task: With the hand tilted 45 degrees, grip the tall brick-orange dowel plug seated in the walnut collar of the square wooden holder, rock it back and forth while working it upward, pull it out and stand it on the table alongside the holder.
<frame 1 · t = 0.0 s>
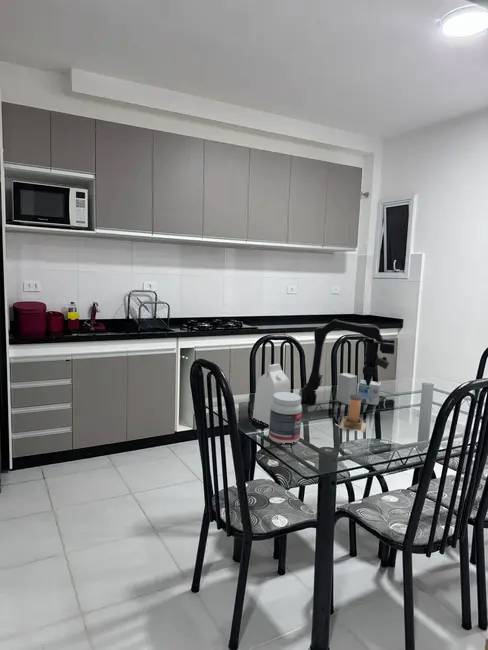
hand: (368, 382, 224), 15 cm above the table, tool pointing down, fingers open, 9 cm apart
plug: (352, 425, 203), point 1 cm above the table, touching square wooden holder
milk: (270, 420, 208), on the table
skincare box: (345, 402, 239), on the table
supplement tub: (283, 439, 188), on the table
square wooden holder: (352, 428, 203), on the table
light bulb box: (367, 402, 242), on the table
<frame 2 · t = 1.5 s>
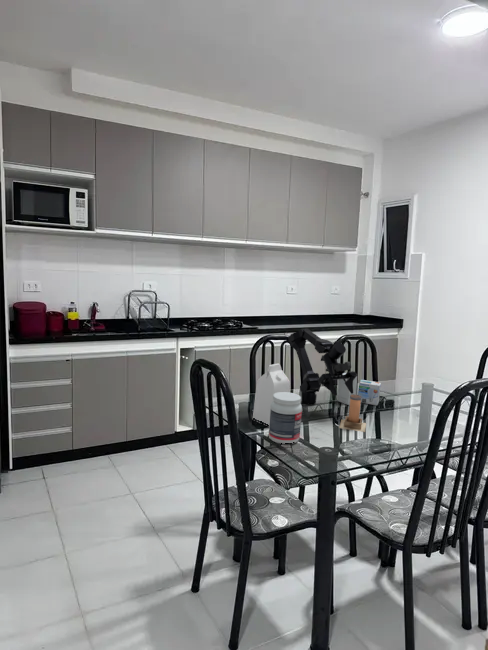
hand: (344, 394, 208), 13 cm above the table, tool tilted 45°, fingers open, 9 cm apart
nothing on the table moved.
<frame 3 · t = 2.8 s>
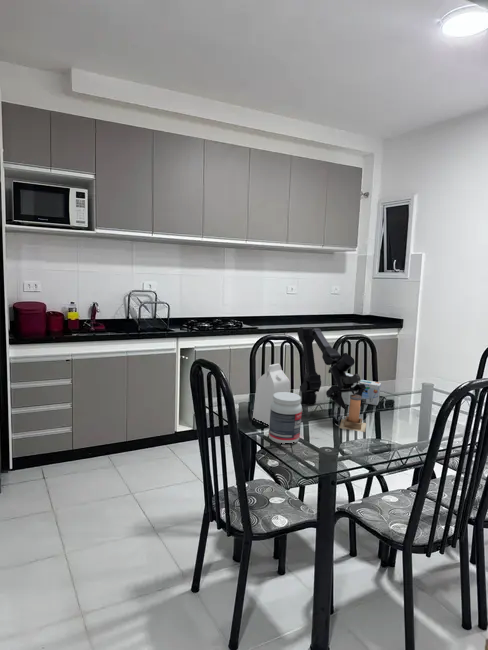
hand: (353, 407, 202), 10 cm above the table, tool tilted 45°, fingers open, 9 cm apart
nothing on the table moved.
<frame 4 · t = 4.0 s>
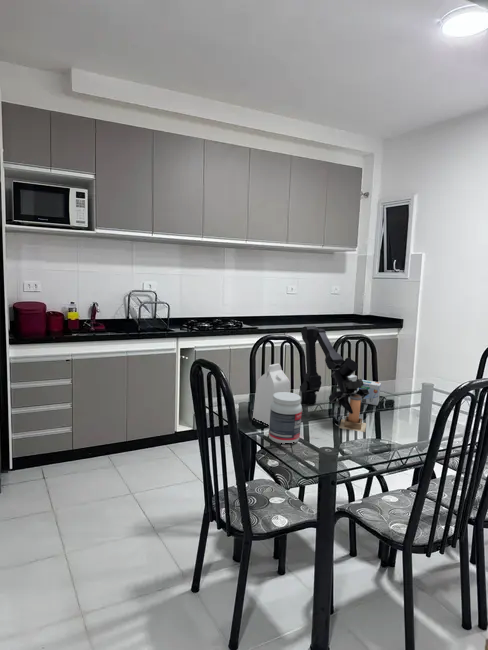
hand: (356, 412, 201), 8 cm above the table, tool tilted 45°, fingers closed on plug, 4 cm apart
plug: (352, 425, 203), point 1 cm above the table, touching gripper, square wooden holder
everything else where it was.
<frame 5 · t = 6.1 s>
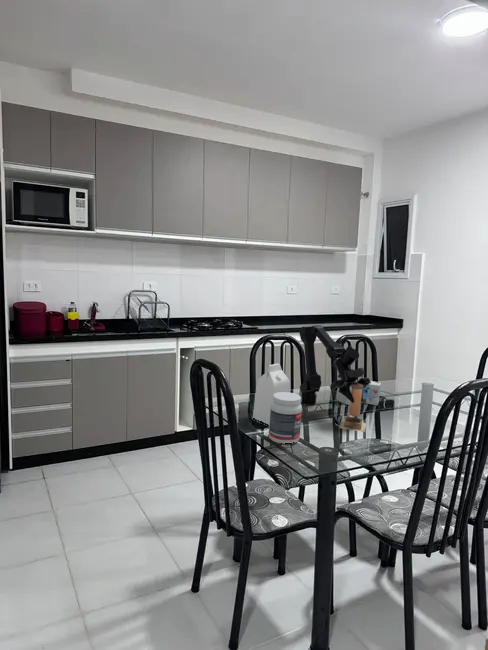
hand: (357, 401, 200), 13 cm above the table, tool tilted 45°, fingers closed on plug, 4 cm apart
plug: (354, 414, 202), point 7 cm above the table, touching gripper
everything else where it was.
when the fingers open (7 cm above the table, at t = 8.4 s): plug stays where it is, on the table.
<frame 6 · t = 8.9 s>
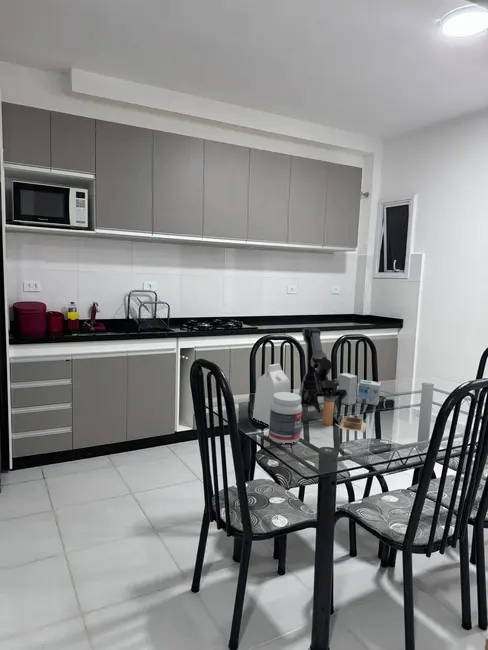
hand: (329, 412, 201), 7 cm above the table, tool tilted 45°, fingers open, 9 cm apart
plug: (326, 426, 204), on the table
everything else where it was.
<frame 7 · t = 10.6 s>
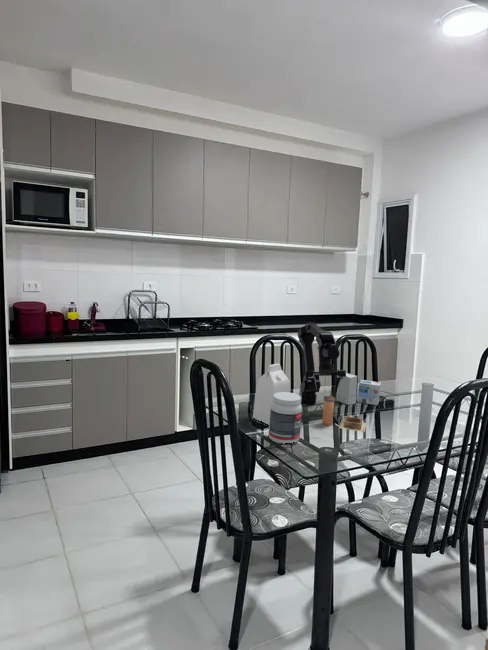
hand: (326, 392, 215), 12 cm above the table, tool pointing down, fingers open, 9 cm apart
nothing on the table moved.
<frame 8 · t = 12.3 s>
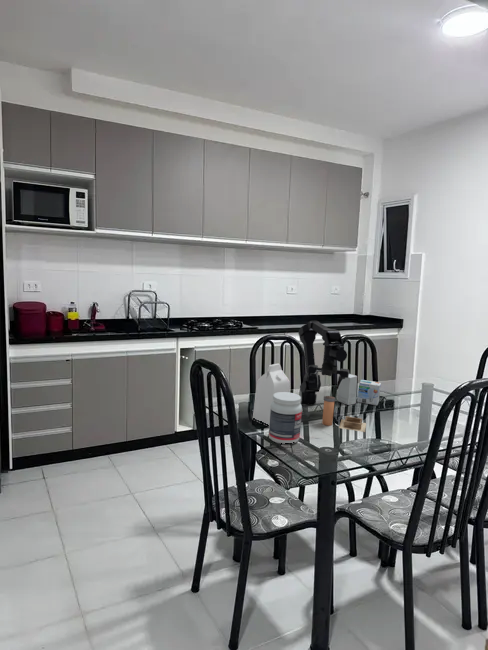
hand: (326, 388, 216), 13 cm above the table, tool pointing down, fingers open, 9 cm apart
nothing on the table moved.
at the end: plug inside the target area (0.1 cm from its centre), on the table; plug tilted 0°; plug touching table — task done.
